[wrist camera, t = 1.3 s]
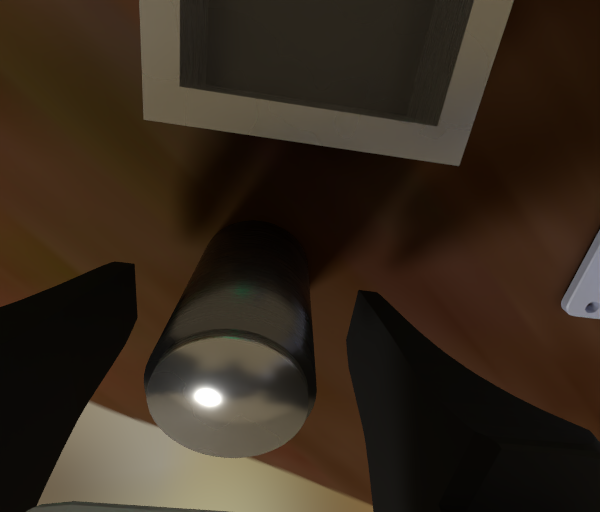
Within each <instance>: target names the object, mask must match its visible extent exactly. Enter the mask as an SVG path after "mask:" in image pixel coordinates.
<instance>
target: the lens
mask: <svg viewBox="0 0 600 512" xmlns="http://www.w3.org/2000/svg"><path fill="white" fill-rule="evenodd" d="M144 387H145V392H146V396H147V404H148V408H149V411H150V413H151V415H152V417H153V419H154V421H155V422H156V424H157V425H158V426H159V427H160V429H161V430H162V431H163V432H164V433H165V434H166V435H168V436H169V437H170V438H172V439H173V440H174V441H176V442H178V443H179V444H181V445H183V446H184V447H186V448H189V449H191V450H193V451H196V452H200V453H202V454H206V455H211V456H216V457H224V458H241V457H250V456H256V455H260V454H263V453H266V452H269V451H272V450H274V449H276V448H278V447H280V446H282V445H283V444H285V443H286V442H288V441H289V440H290V439H292V438H293V437H294V436H295V435H296V434H297V432H298V431H299V430H300V428H301V427H302V425H303V423H304V421H305V420H306V418H307V417H308V416H309V414H310V412H311V410H312V408H313V406H314V402H315V399H316V392H317V389H316V373H315V358H314V344H313V330H312V316H311V301H310V287H309V273H308V262H307V258H306V255H305V252H304V250H303V248H302V247H301V245H300V244H299V242H298V241H297V240H296V239H295V238H294V237H293V236H292V235H291V234H290V233H289V232H287V231H286V230H284V229H282V228H281V227H278V226H276V225H274V224H271V223H267V222H262V221H244V222H239V223H236V224H232V225H230V226H228V227H226V228H224V229H223V230H221V231H220V232H219V233H217V234H216V235H215V236H214V237H213V239H212V240H211V241H210V243H209V244H208V246H207V248H206V250H205V251H204V253H203V255H202V257H201V259H200V261H199V263H198V265H197V267H196V269H195V271H194V273H193V275H192V277H191V279H190V281H189V282H188V284H187V286H186V288H185V290H184V292H183V294H182V296H181V298H180V300H179V302H178V304H177V306H176V308H175V310H174V312H173V313H172V315H171V317H170V319H169V321H168V323H167V325H166V327H165V329H164V331H163V333H162V335H161V337H160V339H159V341H158V343H157V344H156V346H155V348H154V350H153V352H152V354H151V356H150V358H149V360H148V363H147V365H146V369H145V373H144Z"/></svg>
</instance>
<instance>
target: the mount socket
mask: <svg viewBox="0 0 600 512" xmlns="http://www.w3.org/2000/svg"><path fill="white" fill-rule="evenodd" d="M513 2H514V0H139V6H140V33H141V60H142V86H143V113H144V120H151V121H157V122H164V123H171V124H178V125H184V126H191V127H198V128H205V129H211V130H218V131H225V132H232V133H239V134H245V135H252V136H259V137H266V138H272V139H279V140H286V141H293V142H299V143H306V144H313V145H320V146H326V147H333V148H340V149H347V150H354V151H360V152H367V153H374V154H381V155H387V156H394V157H401V158H408V159H414V160H421V161H428V162H435V163H441V164H448V165H455V166H459V165H460V162H461V159H462V156H463V153H464V150H465V147H466V144H467V141H468V138H469V135H470V132H471V129H472V126H473V123H474V120H475V117H476V114H477V111H478V107H479V104H480V101H481V98H482V95H483V92H484V89H485V86H486V83H487V80H488V77H489V74H490V71H491V68H492V65H493V62H494V59H495V56H496V53H497V50H498V47H499V44H500V41H501V38H502V35H503V32H504V29H505V26H506V23H507V20H508V17H509V14H510V11H511V8H512V5H513Z"/></svg>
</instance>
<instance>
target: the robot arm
mask: <svg viewBox="0 0 600 512" xmlns="http://www.w3.org/2000/svg"><path fill="white" fill-rule="evenodd" d="M591 302H592V303H591ZM589 303H591V304H590V305H589V306H587V305H588V304H589ZM561 306H562V308H563V309H564V310H565V311H566V312H567V313H568V314H569V315H572V316H578V317H586V318H595V319H600V230H599V232H598V234H597V236H596V238H595V239H594V241H593V243H592V245H591V247H590V249H589V251H588V252H587V254H586V256H585V258H584V260H583V262H582V264H581V266H580V267H579V269H578V271H577V273H576V275H575V277H574V279H573V280H572V282H571V284H570V286H569V288H568V290H567V292H566V294H565V295H564V297H563V299H562V302H561ZM586 306H587V307H586ZM136 320H137V301H136V283H135V265H134V264H131V263H123V262H112V263H108V264H106V265H103V266H101V267H98V268H96V269H94V270H91V271H89V272H87V273H85V274H82V275H80V276H78V277H76V278H73V279H71V280H69V281H66V282H64V283H62V284H60V285H57V286H55V287H52V288H50V289H47V290H45V291H42V292H40V293H37V294H35V295H32V296H30V297H27V298H25V299H22V300H19V301H17V302H14V303H11V304H8V305H5V306H2V307H0V512H226V511H210V510H196V509H181V508H180V509H179V508H166V507H150V506H137V505H120V504H107V503H92V502H76V501H72V502H62V503H52V504H42V505H39V506H37V503H38V501H39V499H40V497H41V494H42V492H43V490H44V488H45V486H46V483H47V481H48V479H49V477H50V475H51V473H52V471H53V469H54V467H55V465H56V462H57V460H58V458H59V456H60V454H61V452H62V450H63V448H64V446H65V444H66V442H67V440H68V438H69V436H70V434H71V432H72V430H73V428H74V426H75V424H76V422H77V420H78V418H79V417H80V415H81V413H82V412H83V410H84V408H85V406H86V405H87V403H88V402H89V400H90V398H91V397H92V395H93V394H94V392H95V391H96V389H97V388H98V386H99V385H100V383H101V382H102V380H103V378H104V377H105V375H106V374H107V372H108V371H109V369H110V368H111V366H112V365H113V363H114V361H115V360H116V358H117V357H118V355H119V354H120V352H121V350H122V349H123V347H124V346H125V344H126V342H127V340H128V338H129V336H130V333H131V331H132V329H133V327H134V324H135V322H136ZM346 342H347V355H348V364H349V370H350V375H351V379H352V383H353V388H354V392H355V396H356V401H357V405H358V409H359V413H360V418H361V422H362V426H363V431H364V436H365V442H366V449H367V457H368V465H369V473H370V482H371V492H372V501H373V511H374V512H600V442H599V441H598V440H597V439H596V437H595V436H594V435H593V434H592V433H591V432H590V431H589V430H587V429H585V428H583V427H580V426H578V425H576V424H573V423H571V422H569V421H566V420H564V419H562V418H559V417H557V416H555V415H553V414H550V413H548V412H546V411H543V410H541V409H539V408H537V407H535V406H533V405H531V404H529V403H527V402H525V401H523V400H521V399H519V398H517V397H515V396H513V395H511V394H510V393H508V392H506V391H504V390H502V389H500V388H499V387H497V386H495V385H494V384H492V383H490V382H489V381H487V380H485V379H484V378H482V377H480V376H478V375H477V374H475V373H474V372H472V371H471V370H469V369H467V368H466V367H464V366H463V365H462V364H460V363H459V362H457V361H456V360H455V359H453V358H452V357H450V356H449V355H447V354H446V353H445V352H443V351H442V350H441V349H440V348H438V347H437V346H436V345H435V344H433V343H432V342H431V341H430V340H429V339H427V338H426V337H425V336H424V335H423V334H421V333H420V332H419V331H418V330H417V329H416V328H415V327H414V326H412V325H411V324H410V323H409V322H408V321H407V320H406V319H405V318H404V317H403V316H402V315H401V314H400V313H399V312H398V311H397V310H396V309H395V308H393V307H392V306H391V305H390V304H389V303H388V302H387V301H386V300H385V299H384V298H383V297H382V296H381V295H380V294H378V293H377V292H371V291H362V290H359V291H358V295H357V299H356V303H355V307H354V311H353V315H352V319H351V323H350V327H349V331H348V335H347V339H346Z"/></svg>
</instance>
